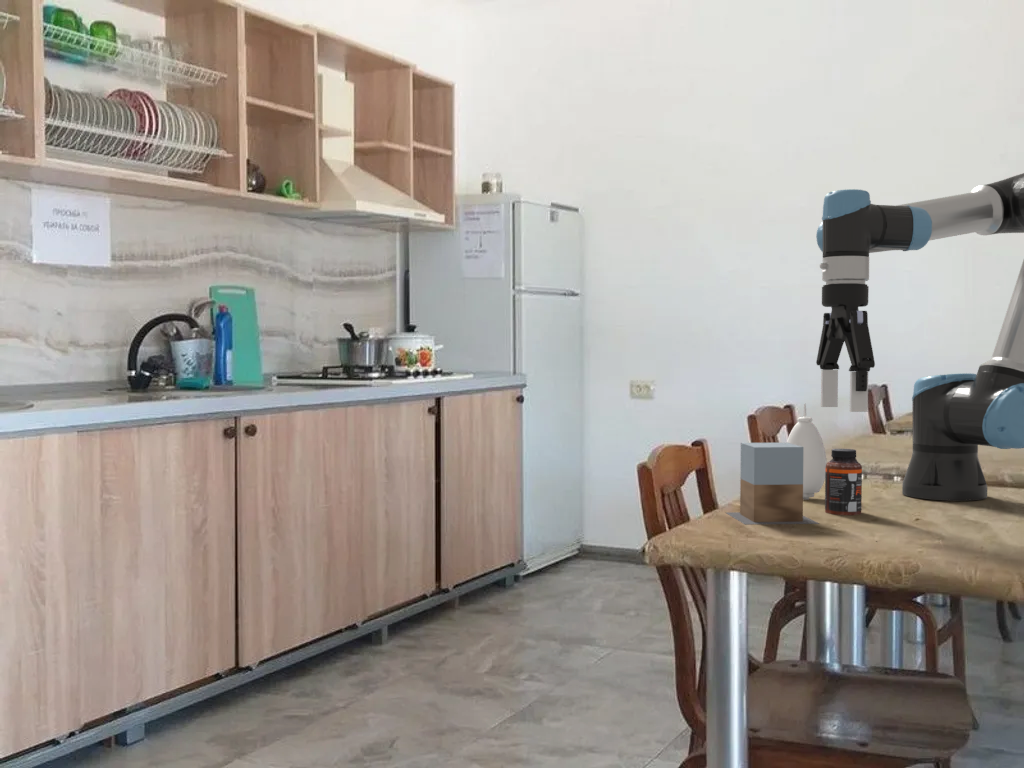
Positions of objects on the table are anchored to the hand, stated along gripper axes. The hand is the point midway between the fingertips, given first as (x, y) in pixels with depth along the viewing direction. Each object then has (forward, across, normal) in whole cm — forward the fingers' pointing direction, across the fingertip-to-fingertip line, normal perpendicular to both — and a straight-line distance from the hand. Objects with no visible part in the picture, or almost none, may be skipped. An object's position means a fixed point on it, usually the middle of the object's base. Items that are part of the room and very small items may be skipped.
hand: (843, 409), depth 183 cm
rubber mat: (+18, +5, -14) cm, 23 cm away
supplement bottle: (+18, 0, 0) cm, 18 cm away
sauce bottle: (+18, -20, 0) cm, 27 cm away
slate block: (+12, +5, -14) cm, 19 cm away
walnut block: (+18, +5, -14) cm, 23 cm away
